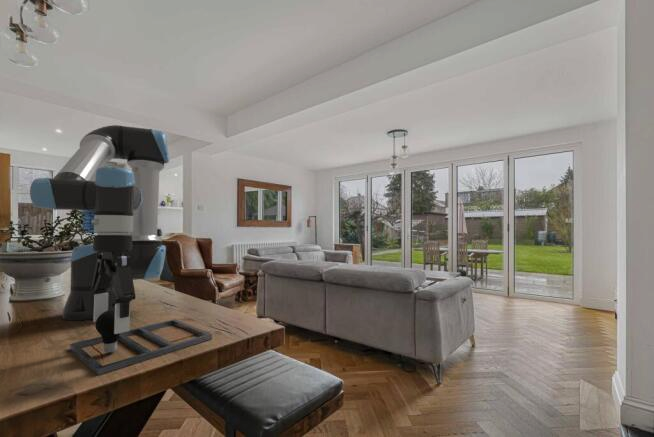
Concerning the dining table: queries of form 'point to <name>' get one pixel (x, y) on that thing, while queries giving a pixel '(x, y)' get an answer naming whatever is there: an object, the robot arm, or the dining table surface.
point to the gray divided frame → (145, 353)
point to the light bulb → (107, 330)
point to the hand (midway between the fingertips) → (110, 326)
